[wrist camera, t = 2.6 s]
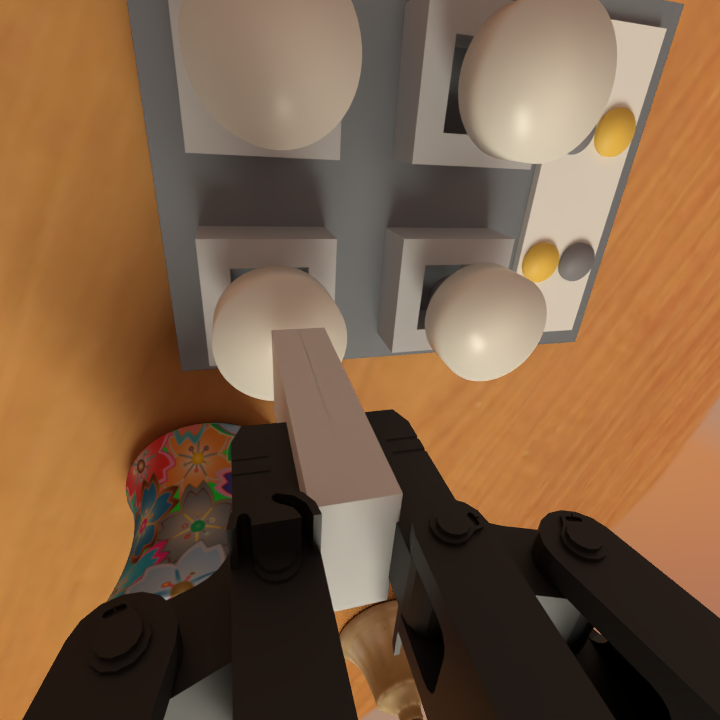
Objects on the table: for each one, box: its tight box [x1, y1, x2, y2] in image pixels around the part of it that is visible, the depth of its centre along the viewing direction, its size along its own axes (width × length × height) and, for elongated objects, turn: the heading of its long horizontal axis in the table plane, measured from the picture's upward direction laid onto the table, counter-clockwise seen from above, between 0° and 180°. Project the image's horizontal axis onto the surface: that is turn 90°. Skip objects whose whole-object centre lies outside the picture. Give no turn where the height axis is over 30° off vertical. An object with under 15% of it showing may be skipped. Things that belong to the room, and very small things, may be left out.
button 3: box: [425, 262, 547, 381], centre depth 18 cm, size 4×4×4 cm
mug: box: [107, 423, 242, 602], centre depth 21 cm, size 12×9×11 cm
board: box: [127, 0, 684, 371], centre depth 19 cm, size 22×16×4 cm
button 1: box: [212, 266, 347, 401], centre depth 16 cm, size 4×4×4 cm
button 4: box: [458, 0, 617, 164], centre depth 14 cm, size 4×4×4 cm
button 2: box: [178, 0, 362, 150], centre depth 12 cm, size 4×4×4 cm
